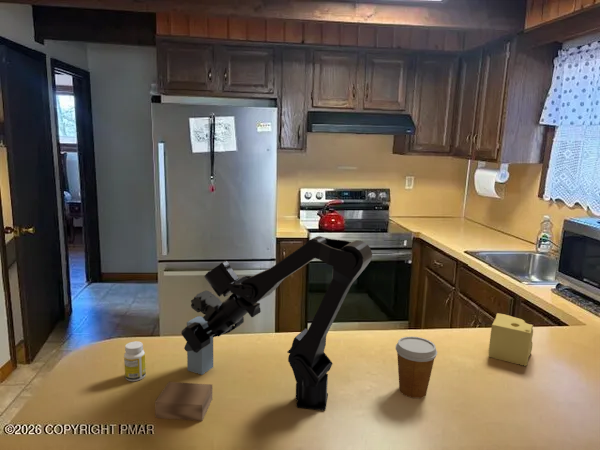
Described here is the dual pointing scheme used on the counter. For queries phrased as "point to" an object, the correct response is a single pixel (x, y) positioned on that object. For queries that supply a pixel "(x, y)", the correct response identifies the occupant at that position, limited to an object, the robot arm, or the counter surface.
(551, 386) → the counter surface
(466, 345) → the counter surface
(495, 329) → the cheese
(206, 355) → the slate block
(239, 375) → the counter surface
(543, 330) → the counter surface
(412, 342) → the disposable coffee cup
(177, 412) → the walnut block
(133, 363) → the supplement bottle
